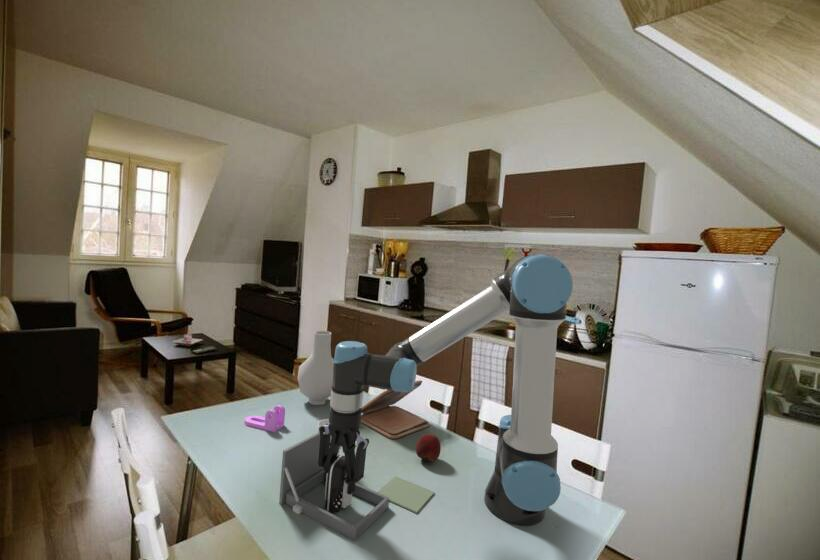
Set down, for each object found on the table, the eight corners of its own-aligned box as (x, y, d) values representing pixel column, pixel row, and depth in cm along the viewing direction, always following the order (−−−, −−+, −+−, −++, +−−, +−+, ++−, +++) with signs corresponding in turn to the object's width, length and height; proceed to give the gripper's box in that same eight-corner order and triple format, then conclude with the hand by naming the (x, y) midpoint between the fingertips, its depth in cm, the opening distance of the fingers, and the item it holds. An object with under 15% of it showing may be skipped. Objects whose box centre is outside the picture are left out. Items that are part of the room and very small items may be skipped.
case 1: (390, 505, 98) (394, 455, 97) (352, 543, 84) (357, 484, 83) (322, 474, 108) (325, 428, 107) (278, 503, 95) (282, 450, 94)
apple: (444, 461, 121) (447, 436, 121) (428, 469, 116) (430, 443, 115) (426, 451, 126) (428, 427, 126) (409, 459, 121) (412, 433, 120)
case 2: (393, 407, 160) (397, 368, 159) (432, 426, 146) (436, 384, 145) (353, 419, 146) (356, 377, 144) (392, 442, 131) (396, 395, 130)
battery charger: (338, 516, 92) (342, 469, 91) (323, 512, 93) (327, 465, 92) (350, 499, 99) (354, 455, 98) (336, 495, 100) (340, 451, 99)
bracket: (284, 426, 135) (285, 406, 134) (274, 432, 130) (275, 412, 129) (251, 418, 138) (253, 398, 138) (240, 424, 133) (242, 404, 133)
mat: (434, 493, 104) (434, 491, 104) (416, 513, 96) (416, 512, 96) (395, 477, 110) (395, 476, 110) (375, 495, 101) (375, 493, 101)
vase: (288, 406, 151) (293, 333, 149) (306, 391, 167) (311, 326, 165) (329, 413, 148) (335, 339, 146) (344, 398, 164) (349, 331, 163)
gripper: (385, 412, 93) (376, 506, 95) (327, 393, 102) (320, 480, 103) (367, 422, 87) (358, 524, 88) (307, 401, 95) (299, 494, 97)
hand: (337, 500), depth 96 cm, fingers closed on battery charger, 5 cm apart
